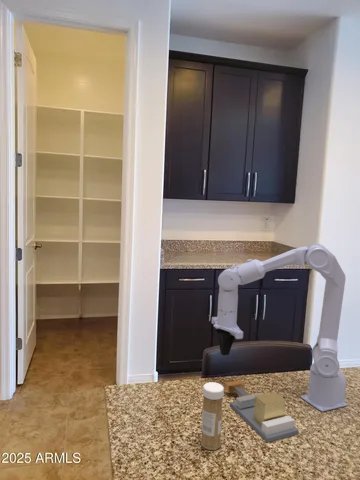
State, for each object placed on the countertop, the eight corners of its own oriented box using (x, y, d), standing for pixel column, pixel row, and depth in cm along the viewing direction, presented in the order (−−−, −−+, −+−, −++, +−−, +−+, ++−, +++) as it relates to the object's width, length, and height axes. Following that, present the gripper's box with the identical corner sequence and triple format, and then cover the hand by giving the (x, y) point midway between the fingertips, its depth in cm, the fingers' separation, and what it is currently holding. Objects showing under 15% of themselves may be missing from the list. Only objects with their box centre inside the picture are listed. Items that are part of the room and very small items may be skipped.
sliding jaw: (244, 385, 104) (244, 379, 104) (265, 403, 95) (265, 396, 95) (220, 390, 101) (220, 383, 101) (240, 408, 92) (240, 401, 92)
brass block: (273, 414, 90) (274, 391, 90) (283, 423, 87) (285, 399, 86) (253, 419, 88) (255, 395, 87) (263, 428, 84) (265, 404, 84)
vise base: (257, 400, 99) (258, 389, 99) (298, 434, 84) (299, 422, 84) (229, 406, 95) (230, 395, 95) (267, 442, 81) (268, 430, 81)
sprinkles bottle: (224, 446, 79) (228, 388, 78) (208, 453, 76) (212, 393, 75) (211, 435, 82) (215, 379, 81) (196, 441, 80) (199, 384, 79)
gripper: (204, 304, 110) (201, 346, 111) (228, 317, 97) (226, 366, 98) (223, 302, 113) (221, 344, 114) (250, 315, 100) (247, 362, 101)
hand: (224, 354), depth 106 cm, fingers closed
